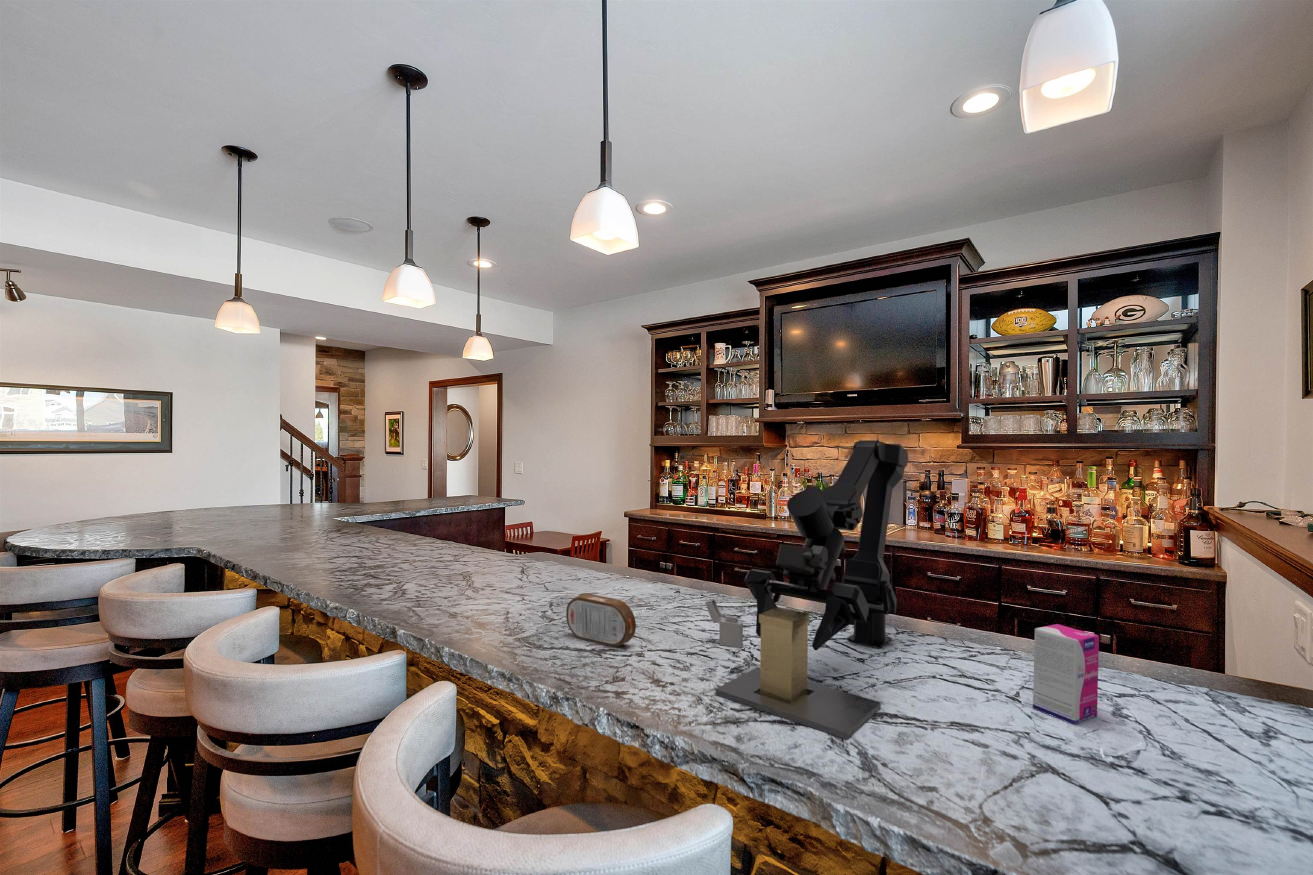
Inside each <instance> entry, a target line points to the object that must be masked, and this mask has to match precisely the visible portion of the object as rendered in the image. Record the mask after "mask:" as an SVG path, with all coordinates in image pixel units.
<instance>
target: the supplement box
mask: <svg viewBox="0 0 1313 875" xmlns="http://www.w3.org/2000/svg"><path fill="white" fill-rule="evenodd" d="M1033 642H1034V644H1033V645H1034V647H1033V648H1034V649H1033V650H1034V651H1033V685H1032V686H1033V688H1032V706H1031V708H1032V709H1033V708H1034V710H1036V711H1038V710H1040V711H1039V712H1041V711H1042V712H1041V713H1043V712H1045V713H1044V714H1046V713H1048V714H1047V715H1049V714H1051V715H1053V716H1052V717H1054V716H1056V717H1058V718H1057V719H1059V718H1060V719H1059V720H1061V719H1063V720H1062V721H1064V720H1065V721H1064V722H1066V721H1067V723H1070V724H1073V725H1077V724H1078V723H1081V722H1084V721H1086V720H1089V719H1093V718H1096V717H1098V700H1099V699H1098V698H1099V696H1098V695H1099V694H1098V692H1099V691H1098V690H1099V689H1098V688H1099V656H1100V654H1099V653H1100V652H1099V651H1100V650H1099V649H1100V648H1099V647H1100V636H1099V635H1098V634H1095V633H1092V632H1088V631H1084V630H1079V629H1075V628H1074V627H1069V626H1067V625H1066V626H1065V625H1062V624H1059V623H1056V624H1052V625H1046V626H1042V627H1041V626H1040V627H1036V628H1034V641H1033ZM1051 715H1050V716H1051ZM1056 717H1055V718H1056Z"/></svg>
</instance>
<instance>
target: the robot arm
mask: <svg viewBox="0 0 1313 875" xmlns="http://www.w3.org/2000/svg"><path fill="white" fill-rule="evenodd" d="M852 448H853V449H852V452H851V454H850V457H849V458H848V460H847V462H846V464H845V465H844V467H843V468H842V470H841V472H840V474H839V476H838V478H837V480H836V481H835V483H834V484H832V485H830V486H828V487H825V488H824V489H822V490H821V488H820V486H819V485H806V488H805V490H801V491H798V492H797V493H795V494H793V495H792V496H791V497H790V498H789V499H788V500H787V505H786V508H787V511H788V513H789V515H790V516H791V519H792V520H793V523H794V525H795V527H796V530H797V531H798V533H799V535H801V536H802V537H803V538H805V541H804V543H803V546H800V545H799V546H797V545H790V544H779V549H778V551H777V552H778V553H777V557H776V561H775V565H776V566H777V567H780V568H782V569H783V572H782V575H783V576H784V578H785V579H788V582H783V581H778V580H777V578H776V576H775V575H774V573H773V572H772V571H769V570H762V569H756V568H752V569H749V571H748V572H747V573H746V575H745V578H744V580H743V582H744V583H745V584H746V586H747V588H748V589H749V592H750V593H751V595H752V596H753V598H754V600H756V621H755V622H756V624H755V625H756V626H755V633H756V635H757V636H758V637H761V623H759V614H761V613H764V612H766V611H769V610H771V609H774V608H776V607H778V605H777V604H776V603H777V602H779V601H780V599H781V596H785V597H790V598H795V599H800V600H804V601H810V602H815V603H820V604H821V603H822V604H825V607H824V608H825V609H824V613H823V615H822V617H821V619H820V622H819V626H818V627H817V630H816V633H815V635H814V639H813V642H812V649H813V651H816V652H817V651H819V649H820V648H822V647H823V646H824V645H825V644H826V643H827V642H828V641H829V640H830V639H832V638H833V637H834V636H835V635H836V634H838V633H839V632H841V631H842V630H844V629H845V628H847V627H849V625H850V626H853V633H852V634H850V635H849V636H847V637H846V641H848V642H852V643H855V644H856V643H857V644H860V645H865V646H869V647H874V648H877V649H882V648H883V647H885V646H886V645H887V644H889V643H890V642H892V640H893V637H891V636H887V635H886V616H888V615H890V614H891V615H892V614H894V615H895V614H896V613H897V605H898V604H897V603H898V602H897V600H898V599H897V596H896V594H895V591H894V590H893V586H892V584H891V582H890V581H891V575H890V573H889V570H888V568H887V565H886V564H885V562H884V555H885V547H886V539H887V533H888V532H887V531H888V526H889V517H890V510H891V502H892V497H893V496H892V495H893V490H894V488H895V487H896V486H897V485H898V484H899V482H901V480H902V479H903V477H904V474H905V469H906V467H907V466H908V464H909V453H908V450H907V449H906V448H904V447H903V446H902V445H901V444H900V443H886V442H883V441H881V440H879V439H868V440H867V439H866V440H865V439H864V440H863V439H860V440H858V441H855V442H854V444H853V446H852ZM865 489H866V494H865V499H864V500H865V501H864V506H863V509H862V505H861V501H860V500H861V498H862V497H863V496H862V495H863V494H864V492H865ZM860 523H861V526H860V527H861V528H860V533H859V541H858V546H857V553H856V554H855V555H854V557H853V558H851V559H850V558H848V559H847V560H846V562H845V564H844V573H843V576H842V578H841V581H840V582H834V583H832V586H831V589H830V590H827V589H828V586H829V583H830V582H831V581H834V580H835V578H836V576H837V575H836V572H835V570H834V569H836V568H835V567H836V565H837V562H838V559H839V557H840V554H841V553H843V554H845V553H846V548H847V547H846V545H845V537H844V535H843V533H842V531H854V530H856V528H857V526H858V525H860ZM841 530H842V531H841Z"/></svg>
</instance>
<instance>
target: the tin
mask: <svg viewBox="0 0 1313 875" xmlns="http://www.w3.org/2000/svg"><path fill="white" fill-rule="evenodd" d="M565 615H566V616H565V617H566V622H567V627H568V628H569V630H570V631H571V633H572V634H573V635H574V637H577V638H578V639H581V640H584V641H588V642H592V643H595V644H600V645H604V646H608V647H613V648H614V647H615V648H616V647H620V646H622V645H624V644H626V643H628V642H630V641H631V640H632V639H633V638H634V636H635V633H636V630H637V622H636V617H635V615H634V612H633V610H632V608H630V606H629V605H628V604H627V603H626V602H625V601H623V600H621V599H618V598H614V597H607V596H603V595H599V594H593V593H588V592H585V593H581V594H579V595H578V596H575V597H574V598H572V599H571V600H570V601H569V602H568V604H567V606H566V612H565Z"/></svg>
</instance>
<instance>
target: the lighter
mask: <svg viewBox="0 0 1313 875" xmlns="http://www.w3.org/2000/svg"><path fill="white" fill-rule="evenodd" d="M704 604H705V606H706V609H707V612H708V614H709V617H710V618H711V621H712V623H713V624H715V623H718V622H719V627H718V628H719V637H718V638H719V639H718V641H719V645H720V646H721V645H722V646H727V647H732V648H737V649H741V648H742V647H744V646H743V645H744V640H743V639H744V622H743V621H739V618H737V616H736V615H725V619H724V618H723V617H722V614H721V611H720V609H719V607H718V604H717V602H716V599H715V598H710V599H708V600H705V602H704Z"/></svg>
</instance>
